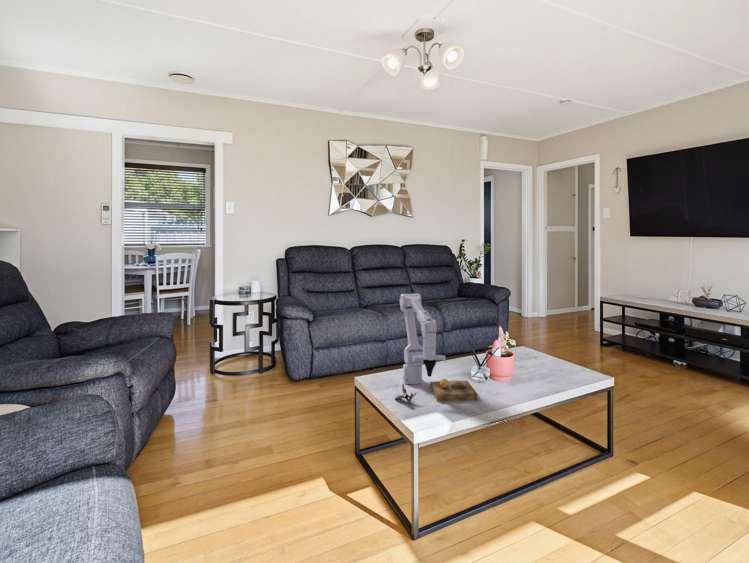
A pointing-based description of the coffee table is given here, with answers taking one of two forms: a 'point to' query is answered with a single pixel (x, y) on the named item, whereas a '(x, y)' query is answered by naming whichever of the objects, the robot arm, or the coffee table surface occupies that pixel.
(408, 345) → the robot arm
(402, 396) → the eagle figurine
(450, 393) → the board
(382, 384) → the coffee table surface
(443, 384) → the ball
